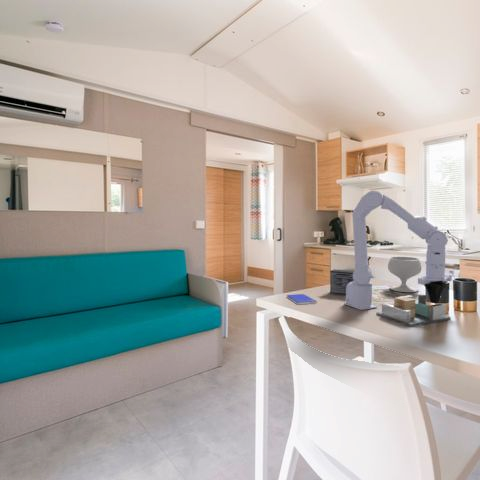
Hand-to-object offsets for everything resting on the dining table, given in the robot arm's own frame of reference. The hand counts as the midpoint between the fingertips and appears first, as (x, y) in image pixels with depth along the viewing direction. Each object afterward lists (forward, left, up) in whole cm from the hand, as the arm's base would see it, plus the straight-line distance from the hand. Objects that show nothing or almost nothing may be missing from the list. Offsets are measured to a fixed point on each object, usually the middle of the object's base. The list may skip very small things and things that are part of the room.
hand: (434, 302), depth 116 cm
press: (0, -10, -4) cm, 11 cm away
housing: (0, -14, -3) cm, 15 cm away
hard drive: (-35, -33, -5) cm, 48 cm away
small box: (-37, -9, -4) cm, 38 cm away
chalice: (-31, +21, -4) cm, 38 cm away
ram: (0, -7, -3) cm, 8 cm away
